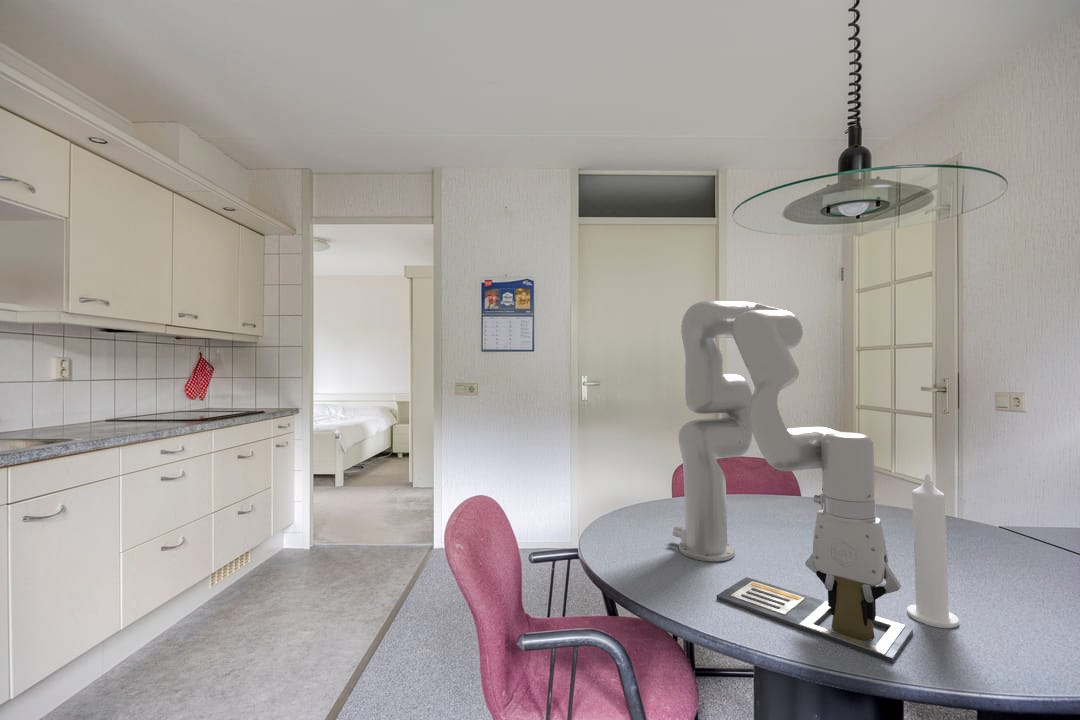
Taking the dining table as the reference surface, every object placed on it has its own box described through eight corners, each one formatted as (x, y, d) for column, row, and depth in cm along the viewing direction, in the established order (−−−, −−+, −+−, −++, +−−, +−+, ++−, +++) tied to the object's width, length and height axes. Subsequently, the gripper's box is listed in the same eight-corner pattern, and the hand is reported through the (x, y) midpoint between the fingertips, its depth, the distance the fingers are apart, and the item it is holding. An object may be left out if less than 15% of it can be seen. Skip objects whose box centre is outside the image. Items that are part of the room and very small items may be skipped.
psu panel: (716, 599, 94) (716, 593, 94) (746, 580, 102) (746, 575, 102) (892, 663, 73) (892, 656, 73) (912, 633, 81) (912, 626, 81)
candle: (959, 616, 86) (954, 472, 86) (958, 633, 81) (952, 479, 81) (909, 604, 91) (904, 467, 91) (904, 619, 85) (900, 474, 86)
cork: (834, 617, 86) (833, 554, 87) (876, 628, 83) (874, 562, 83) (828, 632, 82) (826, 565, 82) (872, 645, 78) (870, 574, 78)
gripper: (787, 502, 86) (790, 607, 86) (902, 523, 74) (906, 647, 74) (804, 494, 91) (807, 594, 91) (915, 512, 79) (919, 628, 78)
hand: (851, 616), depth 82 cm, fingers closed on cork, 3 cm apart
